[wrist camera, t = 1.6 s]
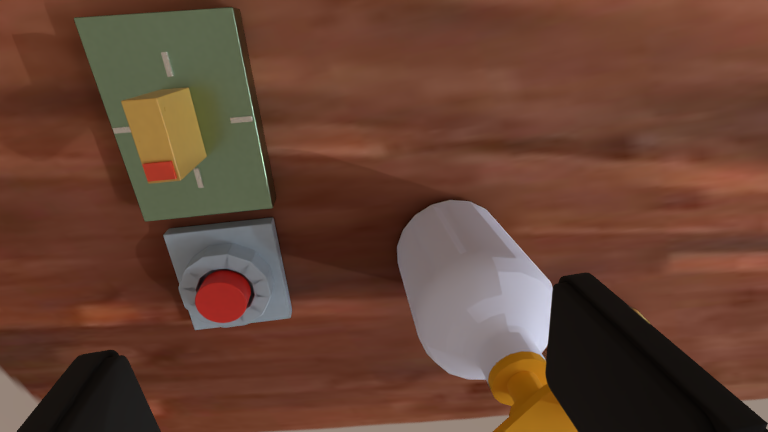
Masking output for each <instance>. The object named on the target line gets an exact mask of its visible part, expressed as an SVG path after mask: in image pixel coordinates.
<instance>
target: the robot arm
mask: <svg viewBox="0 0 768 432" xmlns="http://www.w3.org/2000/svg"><path fill="white" fill-rule="evenodd" d="M545 375H546V380H547V384H548V386H549V388H550V390H551V391H552V393H553V394H554V396H555V398H556V399H557V401H558V402H559V404H560V405H561V407H562V408H563V410H564V411H565V413H566V414H567V416H568V417H569V419H570V420H571V422H572V423H573V425H574V426H575V428H576V429H577V431H578V432H768V430H767V429H766V426H767V424H768V423H767V422H765V421H764V420H763V419H762V418H761V417H760V416H758V415H757V414H756V413H755V412H754V411H752V410H751V409H750V408H749V407H748V406H747V405H745V404H744V403H743V402H742V401H741V400H739V399H738V398H737V397H736V396H735V395H734V394H732V393H731V392H730V391H729V390H728V389H726V388H725V387H724V386H723V385H722V384H721V383H719V382H718V381H717V380H716V379H715V378H713V377H712V376H711V375H710V374H709V373H708V372H706V371H705V370H704V369H703V368H702V367H700V366H699V365H698V364H697V363H696V362H695V361H693V360H692V359H691V358H690V357H689V356H687V355H686V354H685V353H684V352H683V351H682V350H680V349H679V348H678V347H677V346H676V345H674V344H673V343H672V342H671V341H670V340H669V339H667V338H666V337H665V336H664V335H663V334H661V333H660V332H659V331H658V330H657V329H656V328H654V327H653V326H652V325H651V324H650V323H648V322H647V321H646V320H645V319H644V318H643V317H641V316H640V315H639V314H638V313H637V312H635V311H634V310H633V309H632V308H631V307H630V306H628V305H627V304H626V303H625V302H624V301H622V300H621V299H620V298H619V297H618V296H617V295H615V294H614V293H613V292H612V291H611V290H609V289H608V288H607V287H606V286H605V285H603V284H602V283H601V282H600V281H599V280H598V279H596V278H595V277H594V276H593V275H591V274H590V273H580V274H574V275H568V276H563V277H561V278H560V280H559V283H558V284H555V285H554V286H553V290H552V301H551V313H550V324H549V336H548V347H547V359H546V370H545ZM17 432H161V431H160V429H159V427H158V425H157V422H156V420H155V418H154V416H153V414H152V411H151V409H150V407H149V405H148V403H147V401H146V398H145V396H144V394H143V392H142V390H141V387H140V385H139V383H138V381H137V379H136V377H135V374H134V372H133V370H132V368H131V366H130V363H129V361H128V360H127V358H126V357H125V356H122V355H120V356H119V354H118V353H117V352H116V351H114V350H107V351H101V352H94V353H88V354H83V355H80V356H78V357H77V358H76V359H75V360H74V361H73V362H72V364H71V365H70V366H69V367H68V369H67V370H66V371H65V372H64V374H63V375H62V376H61V377H60V378H59V380H58V381H57V382H56V383H55V385H54V386H53V387H52V388H51V390H50V391H49V392H48V393H47V395H46V396H45V397H44V398H43V400H42V401H41V402H40V403H39V404H38V406H37V407H36V408H35V409H34V411H33V412H32V413H31V414H30V416H29V417H28V418H27V419H26V421H25V422H24V423H23V424H22V426H21V427H20V428H19V429H18V430H17Z"/></svg>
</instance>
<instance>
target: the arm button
mask: <svg viewBox="0 0 768 432" xmlns="http://www.w3.org/2000/svg"><path fill="white" fill-rule="evenodd" d="M250 295H251V288H250V285H249V283H248V281H247V280H246V279H245V278H244V277H243V276H242V275H240V274H239V273H237V272H234V271H230V270H219V271H215V272H213V273H211V274H209V275H208V276H207V277H206V278H205V279H204V281H203V283H202V285H201V286H200V288H199V290H198V292H197V294H196V297H195V305H196V308H197V310H198V312H199V313H200V314H201V315H202V316H203V317H205V318H206V319H208V320H210V321H213V322H217V323H228V322H232V321H235V320H237V319H238V318H240V317H241V316H242V315H243V314H244V312H245V310H246V307H247V304H248V301H249V298H250Z"/></svg>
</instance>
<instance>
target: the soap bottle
mask: <svg viewBox="0 0 768 432" xmlns="http://www.w3.org/2000/svg"><path fill="white" fill-rule="evenodd" d="M397 259H398V266H399V270H400V273H401V277H402V280H403V284H404V288H405V291H406V295H407V298H408V302H409V305H410V309H411V313H412V316H413V320H414V323H415V327H416V330H417V334H418V337H419V339H420V341H421V343H422V345H423V347H424V349H425V351H426V353H427V354H428V355H429V356H430V357H431V358H432V360H433V361H434V362H436V363H437V364H438V365H439V366H441V367H442V368H443V369H444V370H446V371H447V372H448V373H449V374H453V375H456V376H459V377H462V378H465V379H486V380H487V383H488V385H489V387H490V389H491V391H492V393H493V396H494V397H495V398H496V399H497V400H498V401H499V402H500V403H503V404H506V405H510V406H512V407H511V409H510V413H509V418H507V419H506V420H505V421H504V422H503V423H502V424H501V425H500V426H499V427H498V428H496V429H495V430H494V431H493V432H578V431H577V429H576V428H575V426H574V425H573V423H572V422H571V420H570V419H569V417H568V416H567V414H566V413H565V411H564V410H563V408H562V407H561V405H560V404H559V402H558V401H557V399H556V398H555V396H554V394H553V393H552V391H551V390H550V388H549V386H548V384H547V380H546V375H545V370H546V360H545V358H544V357H543V355H542V354H541V353H542V352H543V351H544V349H545V348H546V347H547V345H548V336H549V324H550V313H551V301H552V290H553V288H552V284H551V282H550V281H549V280H548V279H547V277H546V276H545V275H544V274H543V273H542V272H541V271H540V269H539V268H538V267H537V266H536V265H535V264H534V263H533V262H532V260H531V259H530V258H529V257H528V256H527V255H526V254H525V253H524V251H523V250H522V249H521V248H520V247H519V246H518V245H517V244H516V242H515V241H514V240H513V239H512V238H511V237H510V236H509V234H508V233H507V232H506V231H505V230H504V229H503V228H502V227H501V225H500V224H499V223H498V222H497V221H496V220H495V219H494V218H493V217H492V215H491V214H490V213H489V212H488V211H487V210H486V209H485V208H483V207H481V206H478V205H476V204H474V203H472V202H470V201H458V200H448V201H444V202H440V203H436V204H432V205H430V206H428V207H427V208H425V209H424V210H422V211H421V212H419V213H417V214H416V215H415V216H414V217H413V218H412V219H411V221H410V222H409V223H408V224H407V225H406V227H405V228H404V229H403V231H402V234H401V237H400V240H399V242H398V245H397Z"/></svg>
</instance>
